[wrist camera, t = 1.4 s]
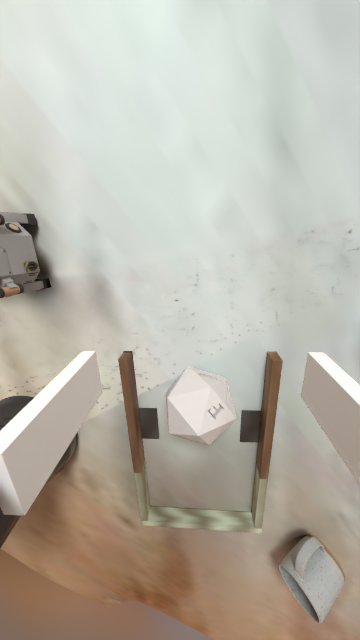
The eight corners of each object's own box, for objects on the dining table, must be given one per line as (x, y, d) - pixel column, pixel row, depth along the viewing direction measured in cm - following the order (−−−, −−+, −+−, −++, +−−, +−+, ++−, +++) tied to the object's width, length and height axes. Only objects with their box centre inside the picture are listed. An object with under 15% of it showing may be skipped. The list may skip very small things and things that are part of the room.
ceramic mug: (303, 534, 46) (341, 585, 41) (273, 565, 43) (310, 624, 38) (320, 524, 39) (368, 583, 34) (286, 560, 36) (334, 631, 31)
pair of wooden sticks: (144, 510, 45) (141, 525, 42) (124, 351, 33) (118, 359, 31) (257, 516, 43) (261, 533, 40) (276, 351, 32) (282, 360, 29)
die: (240, 387, 34) (256, 444, 24) (191, 414, 36) (188, 476, 27) (206, 344, 32) (210, 388, 23) (157, 376, 34) (141, 427, 25)
